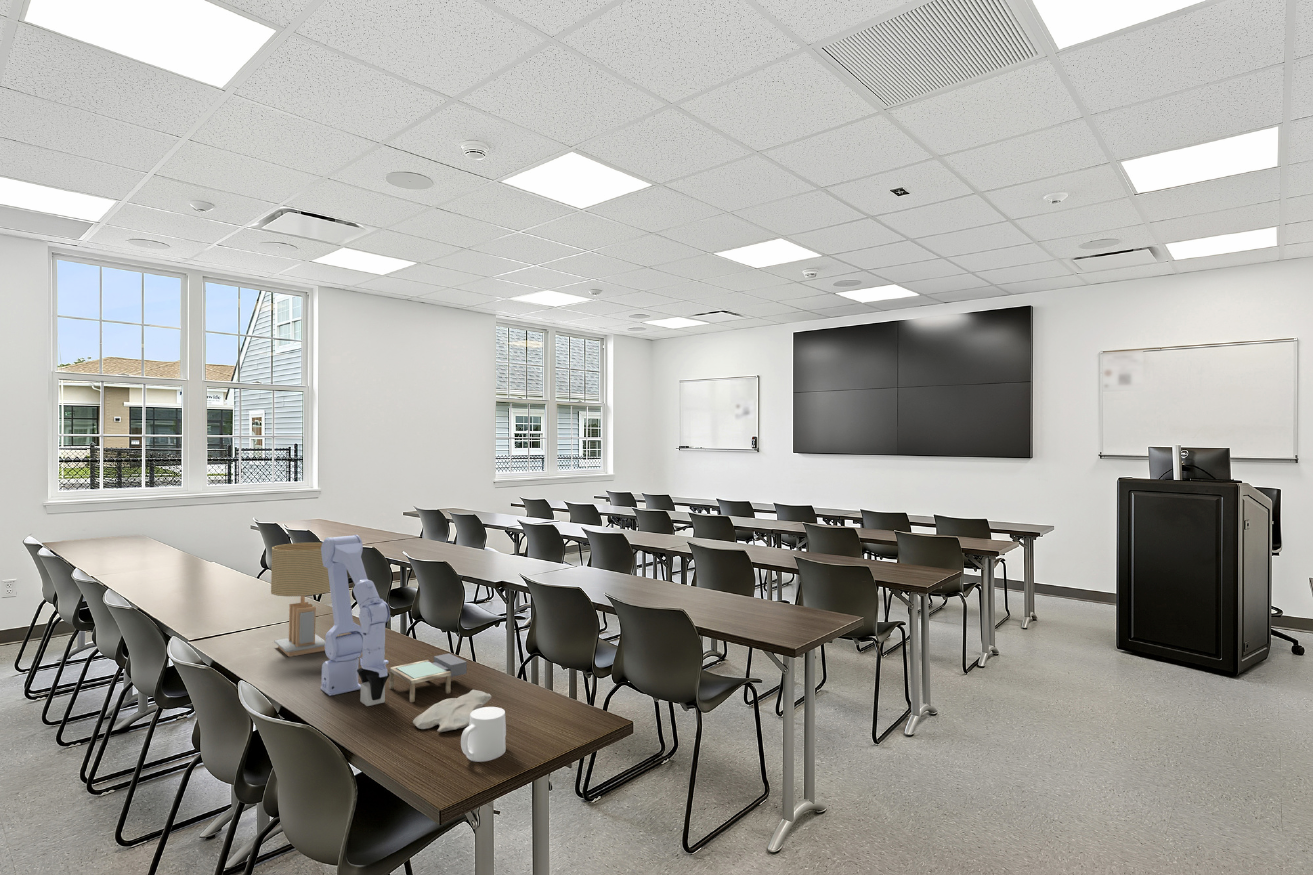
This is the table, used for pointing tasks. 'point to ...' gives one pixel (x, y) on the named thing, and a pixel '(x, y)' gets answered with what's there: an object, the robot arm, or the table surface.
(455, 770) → the table surface
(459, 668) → the trapdoor
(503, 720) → the mug
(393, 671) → the trapdoor frame
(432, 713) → the rock
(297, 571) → the desk lamp
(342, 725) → the table surface
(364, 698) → the white cube
